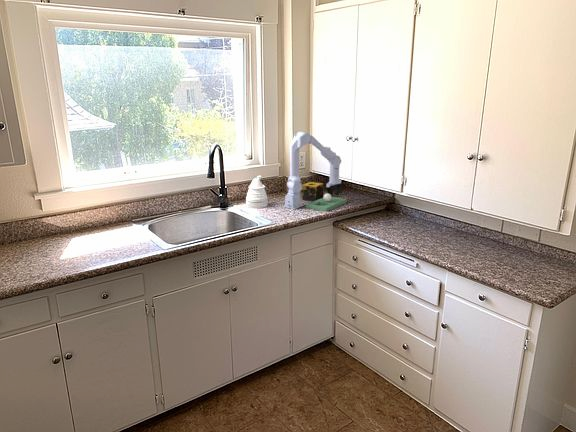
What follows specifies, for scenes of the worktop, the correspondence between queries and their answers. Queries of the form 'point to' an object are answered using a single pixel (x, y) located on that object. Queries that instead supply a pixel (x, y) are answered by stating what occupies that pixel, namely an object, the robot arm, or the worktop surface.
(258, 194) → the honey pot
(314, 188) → the yellow cube with hole
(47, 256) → the worktop surface
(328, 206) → the green mat
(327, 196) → the ball
